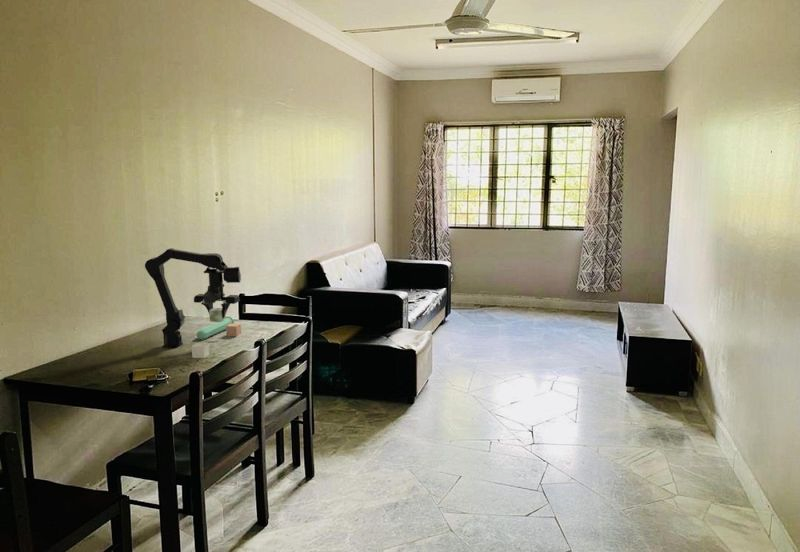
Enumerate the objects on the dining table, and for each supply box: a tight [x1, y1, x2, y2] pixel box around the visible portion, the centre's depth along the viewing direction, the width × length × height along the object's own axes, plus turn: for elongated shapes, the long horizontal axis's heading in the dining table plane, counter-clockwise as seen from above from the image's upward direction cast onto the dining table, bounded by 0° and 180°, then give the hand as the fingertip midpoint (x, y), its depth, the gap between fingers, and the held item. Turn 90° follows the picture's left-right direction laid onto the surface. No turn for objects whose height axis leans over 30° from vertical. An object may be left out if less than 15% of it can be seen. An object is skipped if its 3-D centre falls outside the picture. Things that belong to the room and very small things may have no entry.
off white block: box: [191, 342, 210, 359], centre depth 244 cm, size 5×5×5 cm
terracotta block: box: [225, 323, 242, 337], centre depth 276 cm, size 5×5×5 cm
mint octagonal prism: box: [196, 316, 235, 341], centre depth 279 cm, size 6×6×25 cm
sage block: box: [208, 307, 227, 323], centre depth 259 cm, size 5×5×5 cm
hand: (217, 318), depth 259 cm, fingers closed on sage block, 5 cm apart
